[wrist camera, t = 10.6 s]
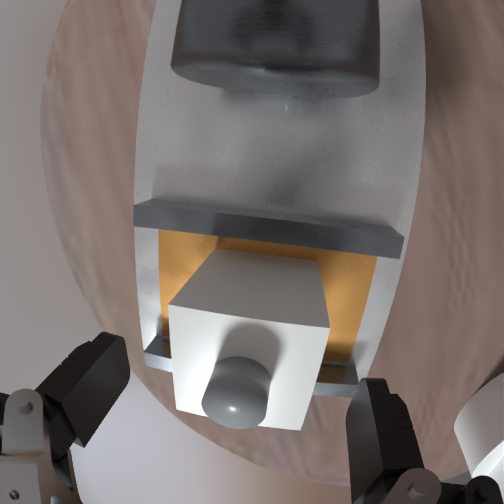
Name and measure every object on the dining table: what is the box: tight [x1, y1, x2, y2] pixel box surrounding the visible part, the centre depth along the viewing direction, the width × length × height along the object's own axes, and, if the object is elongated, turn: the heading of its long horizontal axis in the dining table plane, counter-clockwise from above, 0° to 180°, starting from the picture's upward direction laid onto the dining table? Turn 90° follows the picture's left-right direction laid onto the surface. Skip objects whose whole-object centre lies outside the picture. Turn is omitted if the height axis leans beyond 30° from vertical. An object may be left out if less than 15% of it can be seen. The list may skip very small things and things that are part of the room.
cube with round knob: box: [168, 248, 330, 430], centre depth 12 cm, size 5×5×8 cm
